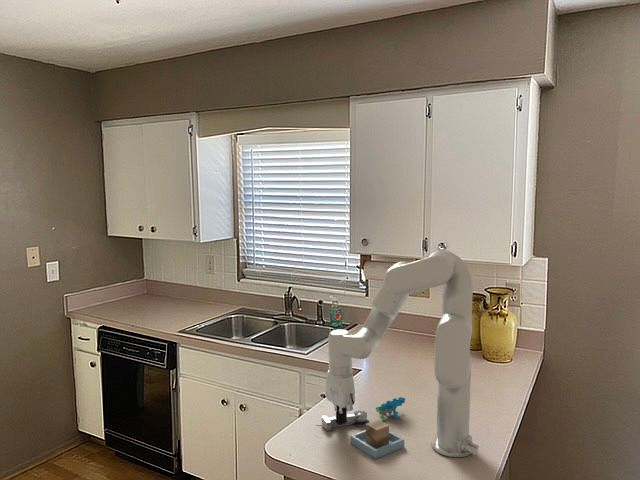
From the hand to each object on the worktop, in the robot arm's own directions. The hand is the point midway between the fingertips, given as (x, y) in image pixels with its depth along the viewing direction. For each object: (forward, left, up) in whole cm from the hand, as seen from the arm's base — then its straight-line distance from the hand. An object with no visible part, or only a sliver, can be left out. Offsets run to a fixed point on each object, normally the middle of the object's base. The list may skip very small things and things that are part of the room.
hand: (341, 423), depth 171 cm
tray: (-14, -2, -2) cm, 15 cm away
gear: (-2, -19, -3) cm, 20 cm away
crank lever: (+2, -3, -2) cm, 4 cm away
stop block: (-15, -3, -2) cm, 15 cm away
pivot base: (+2, -3, -2) cm, 4 cm away
